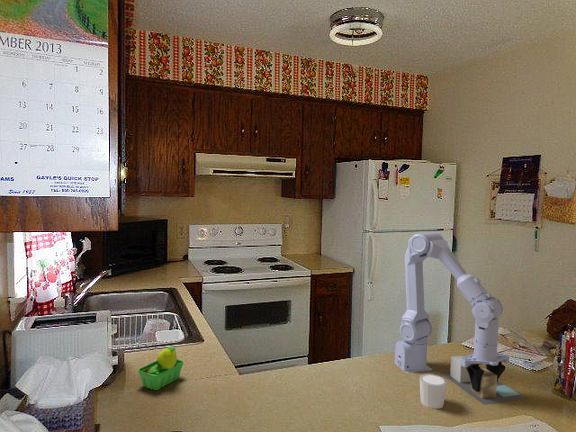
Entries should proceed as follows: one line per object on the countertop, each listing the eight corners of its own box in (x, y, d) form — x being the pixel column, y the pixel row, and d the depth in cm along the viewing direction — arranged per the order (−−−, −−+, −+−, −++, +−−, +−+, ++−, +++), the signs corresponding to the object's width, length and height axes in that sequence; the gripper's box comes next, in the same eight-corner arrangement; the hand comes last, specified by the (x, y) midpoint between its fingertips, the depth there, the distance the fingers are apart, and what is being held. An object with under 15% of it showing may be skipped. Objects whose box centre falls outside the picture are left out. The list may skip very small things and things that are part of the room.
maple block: (482, 398, 107) (483, 377, 107) (470, 390, 112) (471, 369, 111) (496, 396, 108) (497, 375, 108) (484, 388, 113) (485, 368, 112)
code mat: (484, 406, 104) (484, 404, 104) (441, 375, 122) (441, 373, 122) (527, 400, 108) (527, 398, 108) (479, 371, 125) (479, 369, 125)
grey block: (460, 382, 116) (461, 363, 116) (450, 375, 120) (451, 356, 120) (473, 381, 117) (473, 361, 117) (462, 374, 121) (463, 355, 121)
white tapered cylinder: (445, 400, 107) (446, 375, 106) (446, 414, 100) (447, 387, 100) (418, 396, 109) (419, 371, 109) (418, 409, 103) (419, 383, 102)
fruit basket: (166, 371, 121) (166, 335, 121) (188, 378, 117) (188, 341, 117) (136, 387, 111) (136, 348, 111) (159, 395, 107) (158, 355, 106)
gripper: (473, 349, 103) (471, 399, 104) (519, 344, 107) (516, 393, 108) (456, 339, 110) (453, 386, 111) (499, 335, 114) (496, 381, 115)
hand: (483, 389), depth 110 cm, fingers closed on maple block, 4 cm apart
